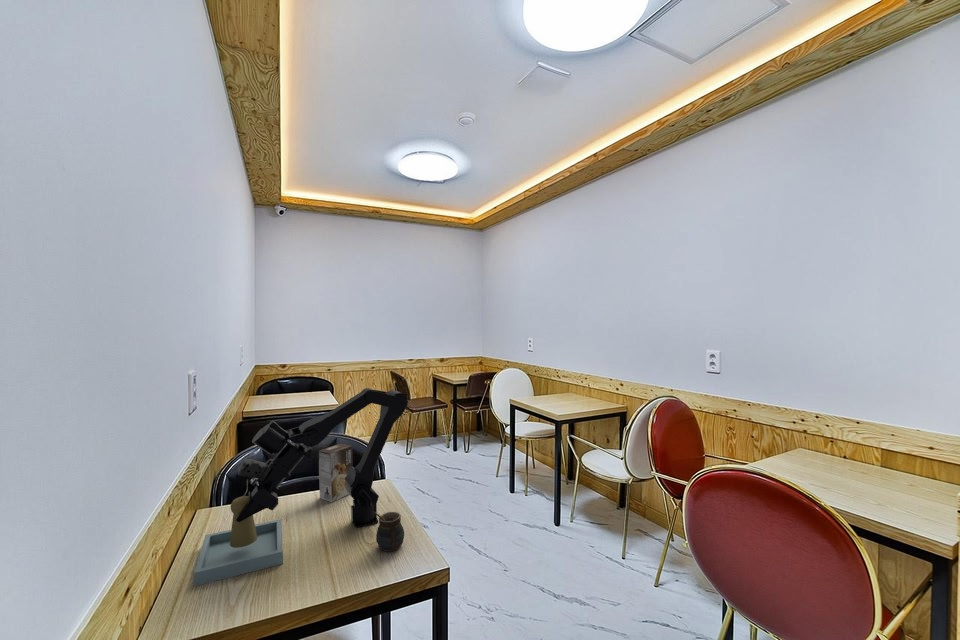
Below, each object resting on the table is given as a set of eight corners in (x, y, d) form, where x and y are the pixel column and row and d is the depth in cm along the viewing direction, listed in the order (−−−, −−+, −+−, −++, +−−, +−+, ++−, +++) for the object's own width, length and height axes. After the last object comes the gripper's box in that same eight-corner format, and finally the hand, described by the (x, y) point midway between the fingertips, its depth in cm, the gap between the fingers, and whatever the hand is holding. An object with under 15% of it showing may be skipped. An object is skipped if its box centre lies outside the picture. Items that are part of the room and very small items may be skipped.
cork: (233, 550, 101) (231, 505, 101) (227, 541, 105) (225, 498, 105) (260, 540, 105) (259, 497, 105) (253, 532, 109) (251, 490, 109)
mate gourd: (408, 549, 107) (407, 511, 106) (379, 558, 103) (378, 519, 103) (399, 536, 113) (398, 500, 113) (372, 544, 109) (370, 507, 109)
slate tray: (281, 529, 117) (281, 519, 117) (283, 563, 101) (282, 551, 101) (205, 546, 109) (205, 534, 109) (194, 586, 93) (194, 572, 93)
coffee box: (341, 488, 145) (340, 442, 144) (354, 492, 141) (353, 445, 141) (318, 498, 137) (318, 450, 137) (331, 503, 133) (330, 453, 133)
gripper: (255, 437, 115) (209, 487, 109) (261, 457, 99) (208, 515, 93) (287, 460, 119) (245, 508, 113) (298, 481, 103) (249, 539, 98)
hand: (236, 516), depth 104 cm, fingers closed on cork, 5 cm apart
